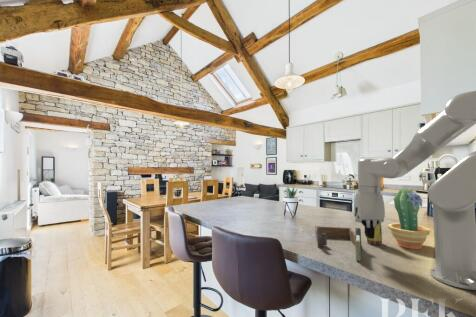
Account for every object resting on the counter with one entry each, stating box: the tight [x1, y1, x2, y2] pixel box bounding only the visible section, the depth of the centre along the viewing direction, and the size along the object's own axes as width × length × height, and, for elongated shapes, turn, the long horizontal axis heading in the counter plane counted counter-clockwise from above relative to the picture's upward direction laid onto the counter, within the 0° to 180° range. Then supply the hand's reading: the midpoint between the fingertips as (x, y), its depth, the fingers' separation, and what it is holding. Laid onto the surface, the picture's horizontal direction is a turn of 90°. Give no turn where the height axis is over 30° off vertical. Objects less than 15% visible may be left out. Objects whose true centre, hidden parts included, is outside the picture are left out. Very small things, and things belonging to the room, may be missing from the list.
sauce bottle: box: [366, 223, 383, 246], centre depth 103 cm, size 6×6×20 cm
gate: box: [354, 235, 362, 261], centre depth 88 cm, size 12×2×7 cm, turn 150°
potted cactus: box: [387, 188, 431, 250], centre depth 99 cm, size 15×15×25 cm
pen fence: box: [314, 225, 362, 251], centre depth 104 cm, size 18×18×9 cm
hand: (369, 237), depth 86 cm, fingers closed
